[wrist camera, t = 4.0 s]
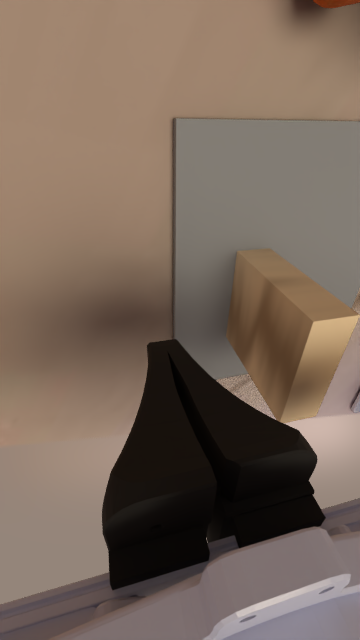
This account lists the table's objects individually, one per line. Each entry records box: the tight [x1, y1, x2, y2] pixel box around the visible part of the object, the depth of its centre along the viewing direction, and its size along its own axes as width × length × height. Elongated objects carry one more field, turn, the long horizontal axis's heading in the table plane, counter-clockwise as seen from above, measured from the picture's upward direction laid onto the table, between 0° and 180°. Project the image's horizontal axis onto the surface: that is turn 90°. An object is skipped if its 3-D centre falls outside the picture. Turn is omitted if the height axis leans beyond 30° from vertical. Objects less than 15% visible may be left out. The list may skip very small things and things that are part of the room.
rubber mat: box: [173, 118, 360, 380], centre depth 18 cm, size 16×13×1 cm
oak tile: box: [226, 248, 360, 423], centre depth 15 cm, size 6×2×7 cm, turn 0°
